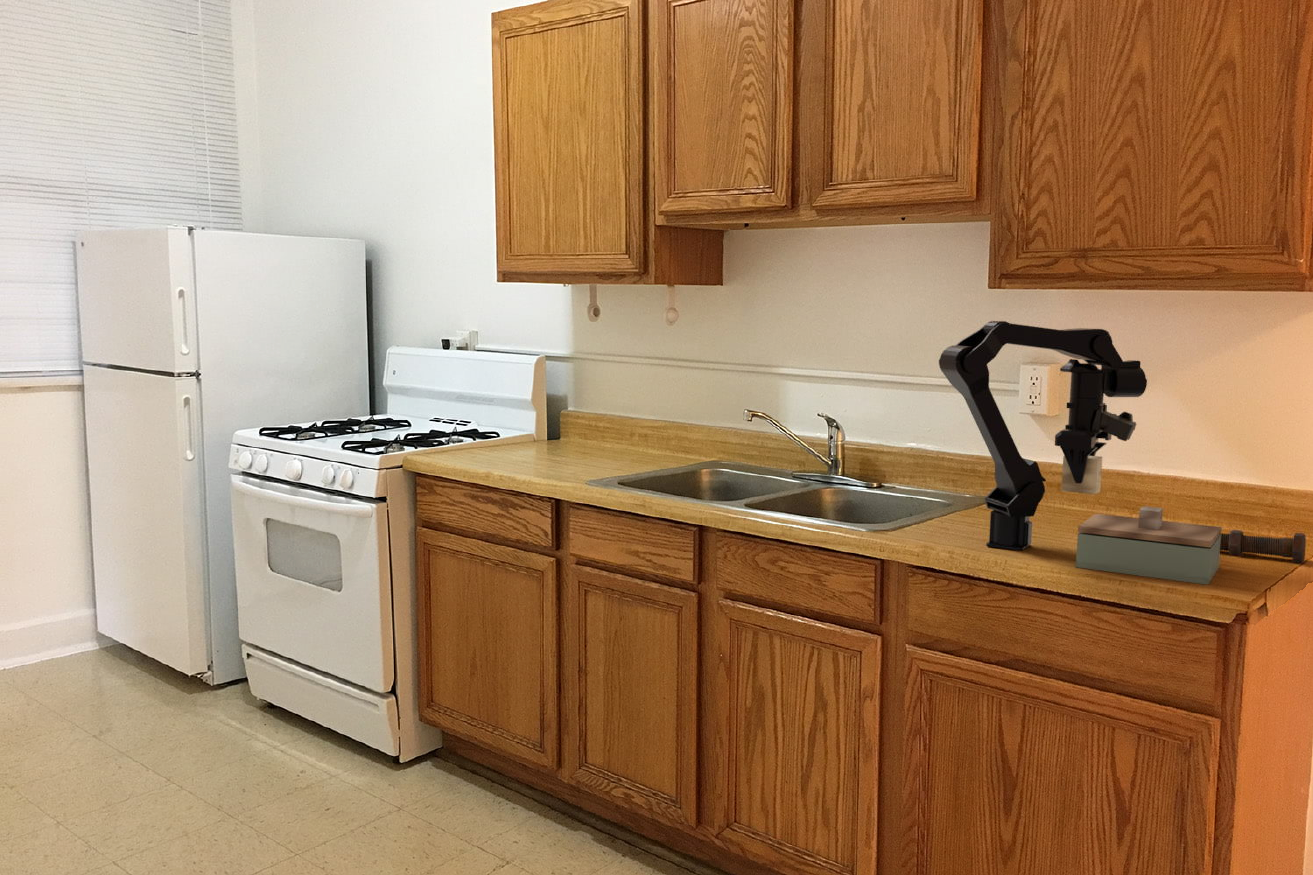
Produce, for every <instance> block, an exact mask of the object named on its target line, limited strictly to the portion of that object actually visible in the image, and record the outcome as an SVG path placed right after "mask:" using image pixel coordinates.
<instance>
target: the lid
mask: <svg viewBox="0 0 1313 875" xmlns="http://www.w3.org/2000/svg"><path fill="white" fill-rule="evenodd" d="M1163 510H1164V508H1163V507H1154V506H1145V505H1144V506H1142V507H1141V508H1140V509H1139V510H1138V511H1139V512H1138V517H1132V516H1123V515H1112V514H1103V513H1095V514H1094V515H1092V516H1090V517H1089V518H1088V519H1087V520H1085V521H1083V522H1082V523H1081V524H1079V525H1078V526H1077V532H1078V533H1080V532H1082V533H1090V534H1099V535H1107V536H1116V537H1125V538H1133V539H1142V540H1150V541H1159V542H1168V543H1176V544H1185V545H1193V546H1202V547H1211V546H1212V545H1213V544H1214V542H1215V541H1216V539H1217V538H1218V537H1219V535H1220V534H1222V527H1223V526H1215V525H1207V524H1206V525H1205V524H1196V523H1188V522H1187V523H1186V522H1179V521H1168V520H1163V513H1164V512H1163Z"/></svg>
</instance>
